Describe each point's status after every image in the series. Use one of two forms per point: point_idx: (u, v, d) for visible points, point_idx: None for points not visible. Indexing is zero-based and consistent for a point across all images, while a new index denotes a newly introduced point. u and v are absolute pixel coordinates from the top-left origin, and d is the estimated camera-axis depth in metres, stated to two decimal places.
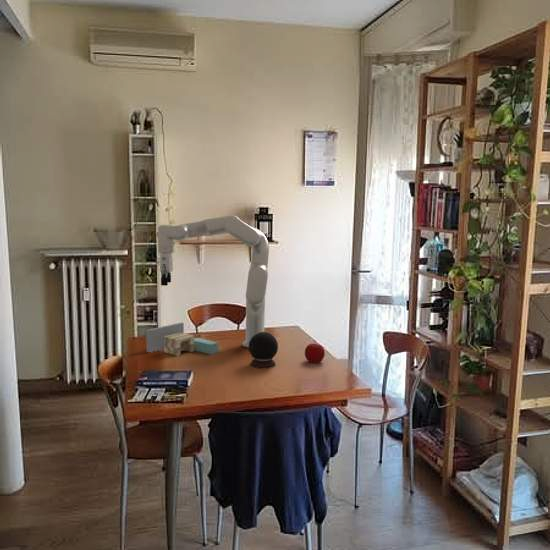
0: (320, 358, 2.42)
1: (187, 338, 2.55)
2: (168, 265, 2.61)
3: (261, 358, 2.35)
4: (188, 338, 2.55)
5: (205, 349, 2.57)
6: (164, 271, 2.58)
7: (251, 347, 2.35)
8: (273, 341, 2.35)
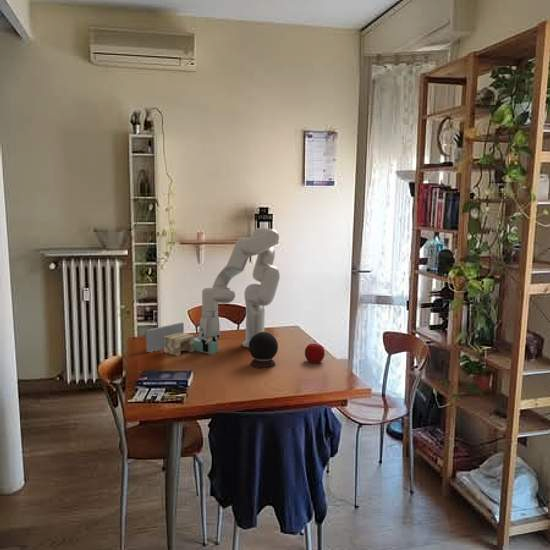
0: (320, 358, 2.42)
1: (187, 338, 2.55)
2: None
3: (261, 358, 2.35)
4: (188, 338, 2.55)
5: None
6: None
7: (251, 347, 2.35)
8: (273, 341, 2.35)
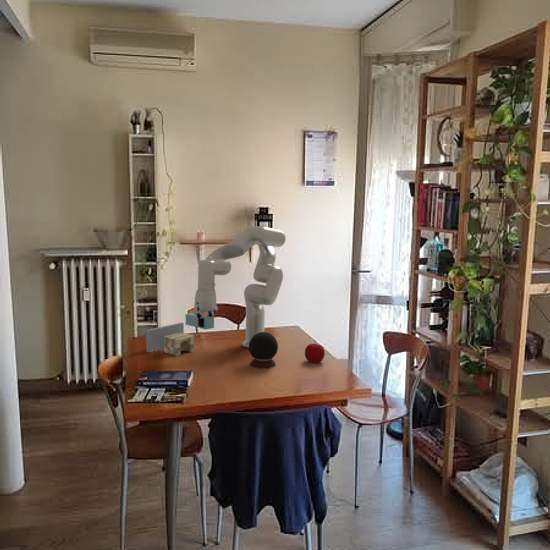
0: (320, 358, 2.42)
1: (187, 338, 2.55)
2: None
3: (261, 358, 2.35)
4: (188, 338, 2.55)
5: None
6: None
7: (251, 347, 2.35)
8: (273, 341, 2.35)
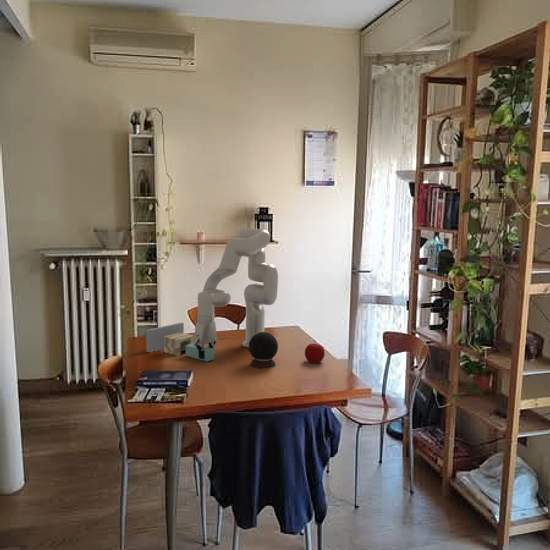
0: (320, 358, 2.42)
1: (187, 338, 2.55)
2: None
3: (261, 358, 2.35)
4: (188, 338, 2.55)
5: None
6: None
7: (251, 347, 2.35)
8: (273, 341, 2.35)
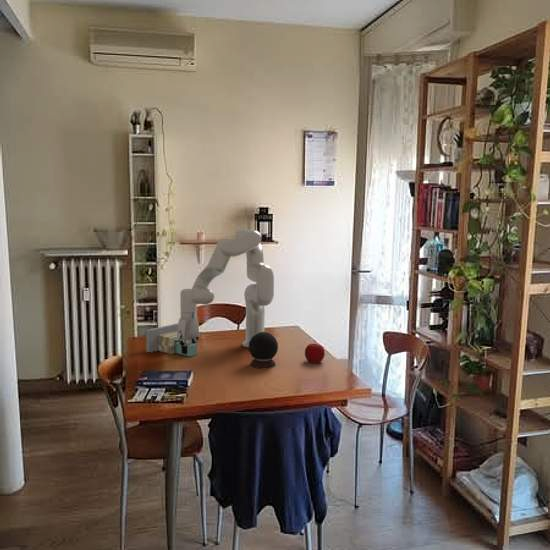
0: (320, 358, 2.42)
1: None
2: None
3: (261, 358, 2.35)
4: None
5: None
6: None
7: (251, 347, 2.35)
8: (273, 341, 2.35)
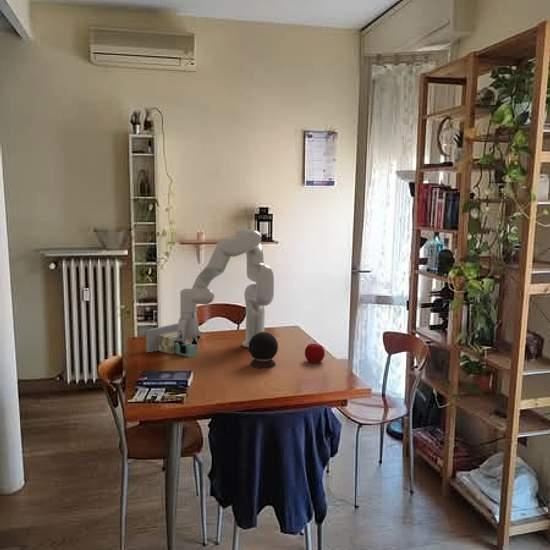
0: (320, 358, 2.42)
1: None
2: None
3: (261, 358, 2.35)
4: None
5: None
6: None
7: (251, 347, 2.35)
8: (273, 341, 2.35)
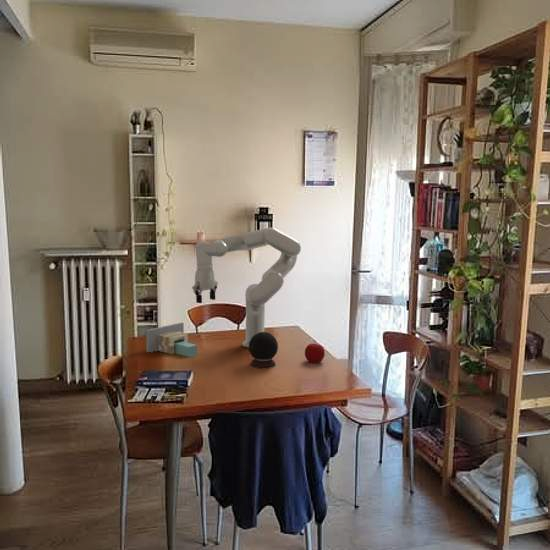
0: (320, 358, 2.42)
1: (181, 336, 2.58)
2: None
3: (261, 358, 2.35)
4: (182, 336, 2.58)
5: (183, 351, 2.52)
6: (214, 284, 2.70)
7: (251, 347, 2.35)
8: (273, 341, 2.35)
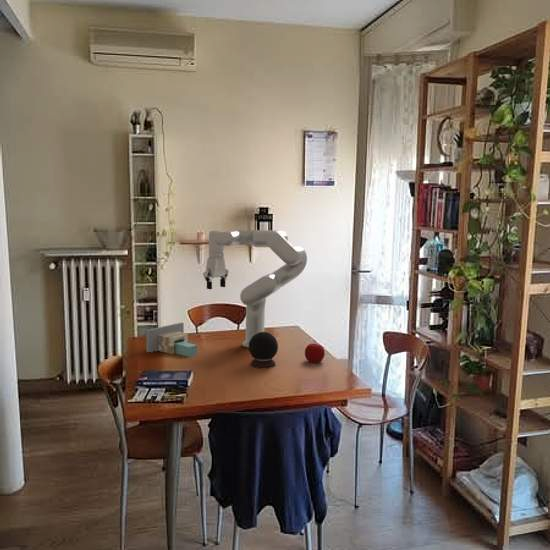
0: (320, 358, 2.42)
1: (181, 336, 2.58)
2: None
3: (261, 358, 2.35)
4: (182, 336, 2.58)
5: (183, 351, 2.52)
6: None
7: (251, 347, 2.35)
8: (273, 341, 2.35)
